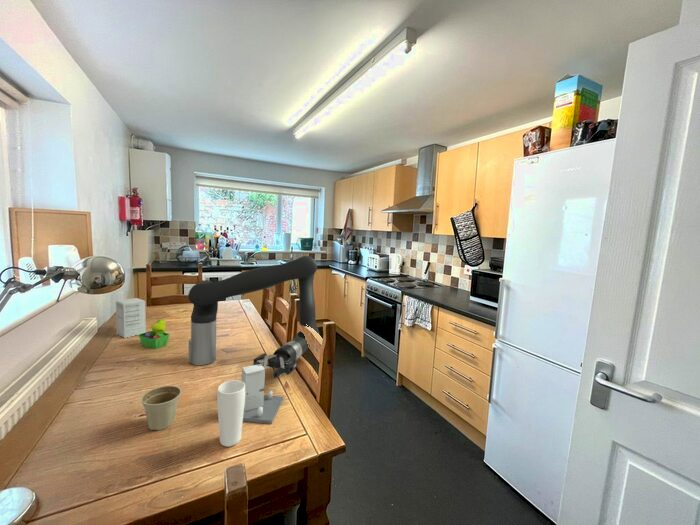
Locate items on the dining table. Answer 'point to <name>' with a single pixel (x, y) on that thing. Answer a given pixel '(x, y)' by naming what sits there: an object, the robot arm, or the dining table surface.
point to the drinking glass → (230, 411)
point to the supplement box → (130, 317)
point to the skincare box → (253, 386)
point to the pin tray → (264, 410)
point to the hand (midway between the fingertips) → (262, 373)
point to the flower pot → (161, 406)
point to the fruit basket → (155, 336)
